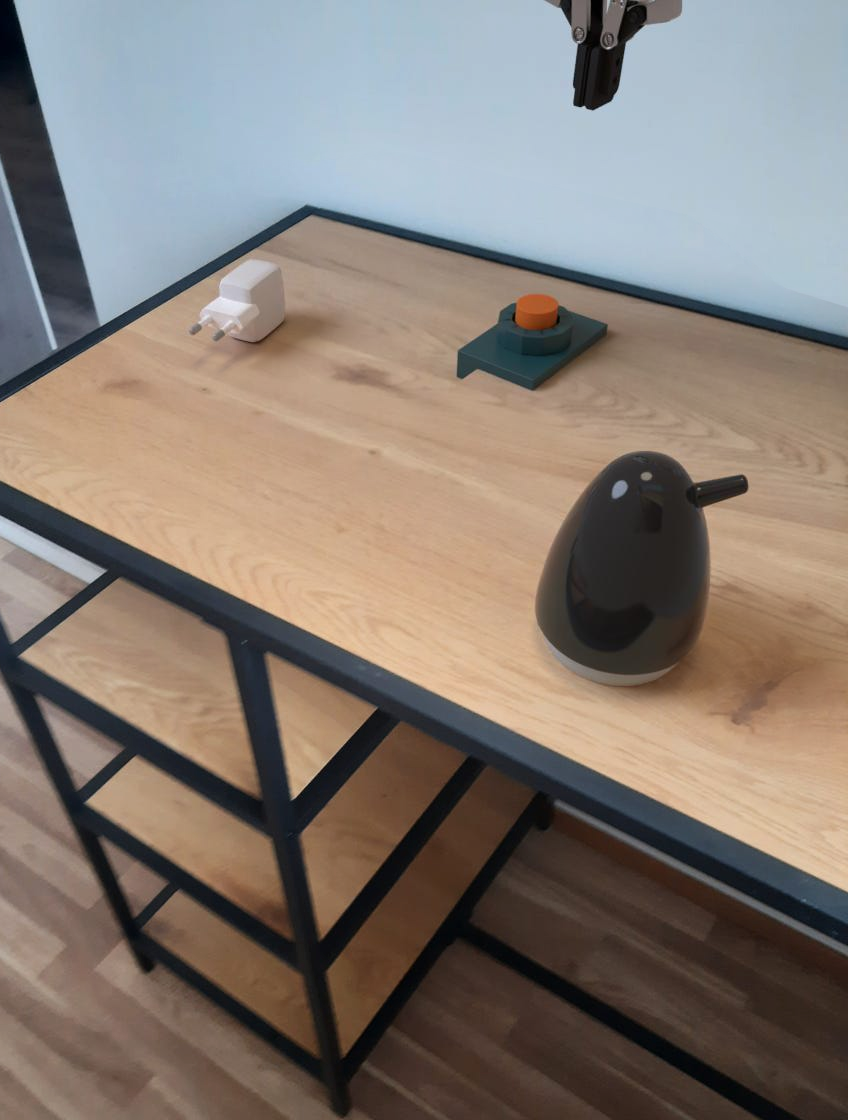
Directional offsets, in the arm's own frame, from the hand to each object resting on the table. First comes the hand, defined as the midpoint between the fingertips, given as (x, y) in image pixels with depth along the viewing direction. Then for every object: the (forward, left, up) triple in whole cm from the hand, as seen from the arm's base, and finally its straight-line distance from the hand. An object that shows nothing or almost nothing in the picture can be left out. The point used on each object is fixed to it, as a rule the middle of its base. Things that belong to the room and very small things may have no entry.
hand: (593, 103), depth 70 cm
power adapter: (+15, -26, -22) cm, 37 cm away
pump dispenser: (+28, +22, -22) cm, 42 cm away
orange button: (+2, -2, -17) cm, 18 cm away
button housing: (+2, -2, -22) cm, 22 cm away
